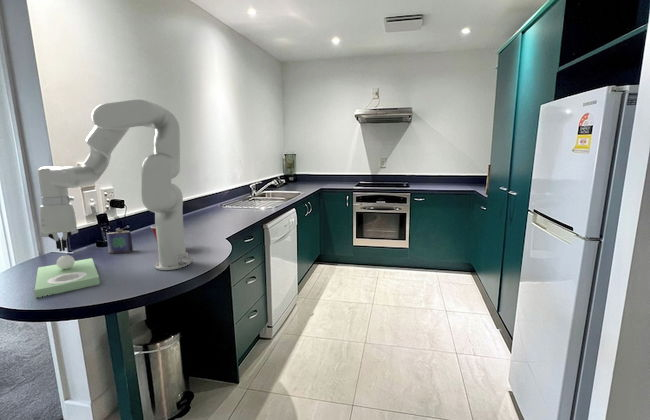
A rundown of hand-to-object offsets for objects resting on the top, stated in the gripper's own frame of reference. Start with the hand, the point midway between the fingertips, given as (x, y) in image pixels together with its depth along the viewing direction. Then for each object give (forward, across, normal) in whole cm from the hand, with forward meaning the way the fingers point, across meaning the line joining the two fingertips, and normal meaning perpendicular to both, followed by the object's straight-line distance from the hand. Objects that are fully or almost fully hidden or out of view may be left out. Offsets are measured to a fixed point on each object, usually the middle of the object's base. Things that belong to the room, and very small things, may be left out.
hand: (62, 250), depth 120 cm
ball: (+3, -1, +8) cm, 8 cm away
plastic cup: (+7, -36, -1) cm, 36 cm away
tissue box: (+8, -1, +12) cm, 14 cm away
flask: (+8, -20, -13) cm, 25 cm away
